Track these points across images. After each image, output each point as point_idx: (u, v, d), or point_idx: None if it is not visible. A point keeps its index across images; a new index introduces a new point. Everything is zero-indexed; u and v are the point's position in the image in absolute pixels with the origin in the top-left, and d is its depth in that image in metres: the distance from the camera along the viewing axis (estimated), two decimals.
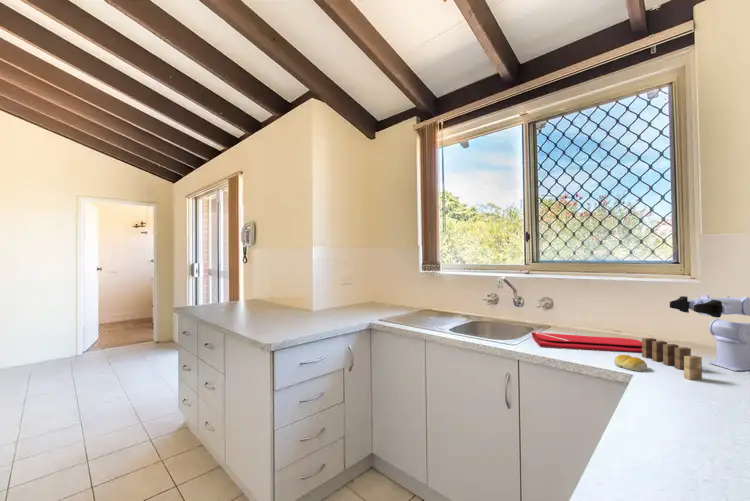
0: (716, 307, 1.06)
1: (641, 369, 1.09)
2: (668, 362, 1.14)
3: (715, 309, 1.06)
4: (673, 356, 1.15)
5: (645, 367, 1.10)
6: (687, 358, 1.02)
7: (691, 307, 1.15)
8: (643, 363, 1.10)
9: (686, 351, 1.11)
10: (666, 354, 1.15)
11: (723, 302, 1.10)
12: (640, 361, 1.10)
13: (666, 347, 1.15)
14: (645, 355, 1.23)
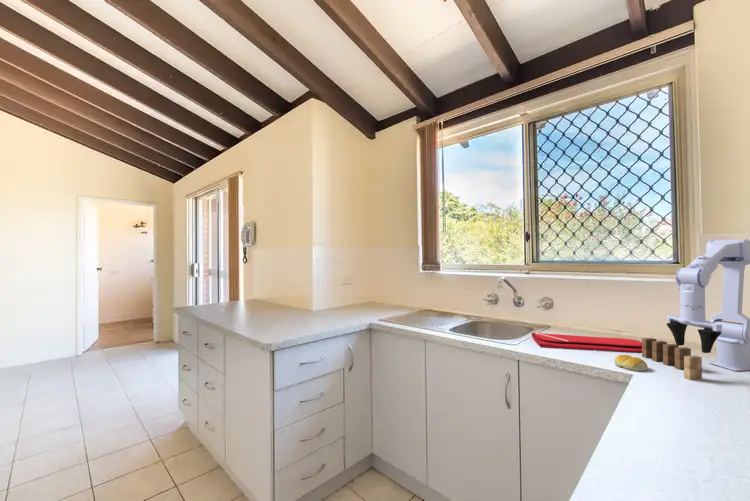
0: None
1: (641, 369, 1.09)
2: (668, 362, 1.14)
3: None
4: (673, 356, 1.15)
5: (645, 367, 1.10)
6: (687, 358, 1.02)
7: None
8: (643, 363, 1.10)
9: (686, 351, 1.11)
10: (666, 354, 1.15)
11: (695, 308, 1.00)
12: (640, 361, 1.10)
13: (666, 347, 1.15)
14: (645, 355, 1.23)
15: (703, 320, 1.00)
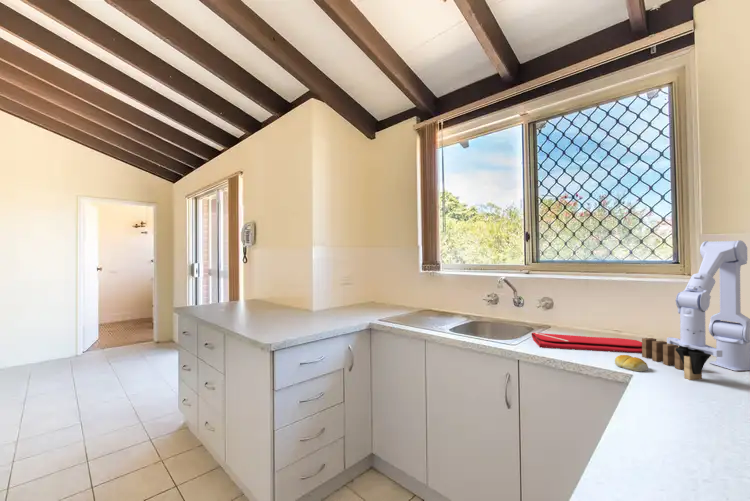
0: None
1: (642, 369, 1.09)
2: (668, 362, 1.14)
3: None
4: (673, 356, 1.15)
5: (646, 367, 1.10)
6: (687, 358, 1.02)
7: None
8: (644, 363, 1.10)
9: None
10: (666, 354, 1.15)
11: (696, 333, 1.00)
12: (641, 361, 1.10)
13: (666, 347, 1.15)
14: (645, 355, 1.23)
15: (703, 344, 1.00)
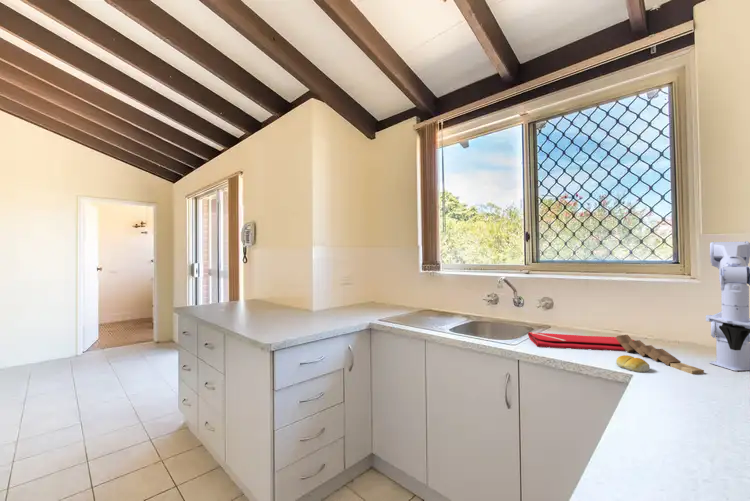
0: None
1: (643, 370, 1.09)
2: None
3: None
4: None
5: (647, 368, 1.09)
6: (671, 365, 1.13)
7: None
8: (645, 364, 1.09)
9: (661, 350, 1.19)
10: (648, 352, 1.22)
11: (739, 308, 0.97)
12: (642, 362, 1.10)
13: (642, 347, 1.24)
14: (627, 348, 1.29)
15: (747, 320, 0.97)
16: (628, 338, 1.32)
